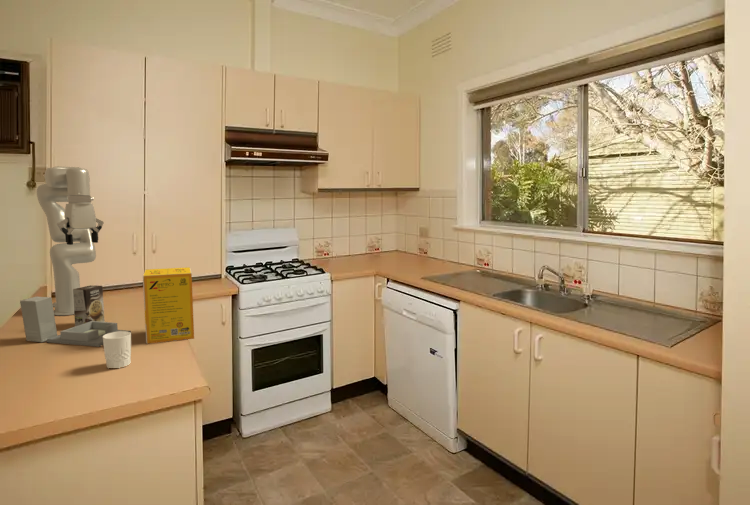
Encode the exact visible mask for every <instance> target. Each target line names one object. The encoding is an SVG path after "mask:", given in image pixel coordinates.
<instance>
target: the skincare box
mask: <svg viewBox="0 0 750 505" xmlns="http://www.w3.org/2000/svg"><path fill="white" fill-rule="evenodd" d="M19 304H20V308H21V314H22V315H21V316H22V322H23V328H24V334H25V341H27V342H34V343H35V342H37V343H43V342H44V343H45V342H47V339H49V338H52V337H55V336H58V331H57V326H56V318H55V315H54V307H53V299H52V296H51V297H48V296H33V297H29V298H25V299H20V300H19Z"/></svg>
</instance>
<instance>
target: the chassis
mask: <svg viewBox="0 0 750 505" xmlns="http://www.w3.org/2000/svg"><path fill="white" fill-rule="evenodd" d="M119 331H127V332H130V333H131V334H132V330H126V329H125V330H123V329H118V322H108V321H105V322H98V321H90V322H87V323H84V324H81V325H78V326H75V325H74V326H73V327H70V328H67V329H64V330H60V331H59V332H60V333H59V335H58V334H57V336H55V337H52V338H49V339H47V341H46V343H51V344H52V343H53V344H63V345H64V344H65V345H75V346H87V347H103V346H104V345H103V336H104V335H105V334H108V333H112V332H119Z"/></svg>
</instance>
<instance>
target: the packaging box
mask: <svg viewBox="0 0 750 505" xmlns="http://www.w3.org/2000/svg"><path fill="white" fill-rule="evenodd" d="M192 275H193V274H192V269H191V267H187V266H186V267H171V268H170V267H169V268H167V267H166V268H152V269H151V268H150V269H144V273H143V274H142V284H143V285H142V287H143V290H142V291H143V302H144V303H143V305H144V306H143V307H144V323H145V324H144V325H145V344H155V343H156V344H157V343H166V341H168V342H174V341H173V340H177V341H184V340H183V339H187V340H194V339H195V327H194V326H195V324H194V301H193V299H194V297H193V276H192Z"/></svg>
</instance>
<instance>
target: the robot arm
mask: <svg viewBox="0 0 750 505" xmlns="http://www.w3.org/2000/svg"><path fill="white" fill-rule="evenodd" d="M44 181H45V183H42V184H40V185H38V186H37V188H36V197H37V201H38V203H39V206H40V207H41V209H42V210H43V212H44V214H45V216H46V221H47V225H48V231H49V235H50V236H49V237H50V239H51V240H52V242H54V243H57V244H53V245H52V246H51V247H50V249H49V256H50V261H51V264H52V269H53V279H54V292H55V301H54V302H52V304H53V308H54V309H53V311H54V316H72V315H73V316H74V299H73V289H76V288H81V281H80V273H79V270H78V269H76V268H75V267H74V266H73V265H75V264H87V263H92V262H94V261H95V260H96V257H97V250H96V247H95V244H97V243H99V233H100V231H101V230H102V228H103V226H104V221H103V220H101V219H98V218H97V217H96V212H95V207H94V204H93V203H92V201H94V197H92V196H91V186H90V182H91V180H90V174H89V171H88V169H86V168H83V167H80V166H79V167H76V166H59V165H58V166H54V167H47V168H46V169H45V171H44ZM59 203H65V208H64V207H63V206H62V205H60V204H59Z"/></svg>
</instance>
